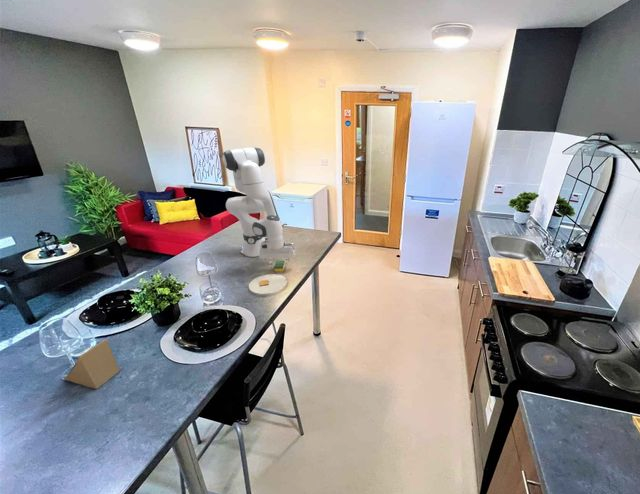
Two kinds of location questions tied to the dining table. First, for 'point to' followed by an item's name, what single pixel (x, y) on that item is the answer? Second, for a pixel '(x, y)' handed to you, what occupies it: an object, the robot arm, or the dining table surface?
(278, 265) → the sponge
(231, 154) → the robot arm
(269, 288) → the plate
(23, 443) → the dining table surface
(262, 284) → the cracker
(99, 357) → the sandwich container
